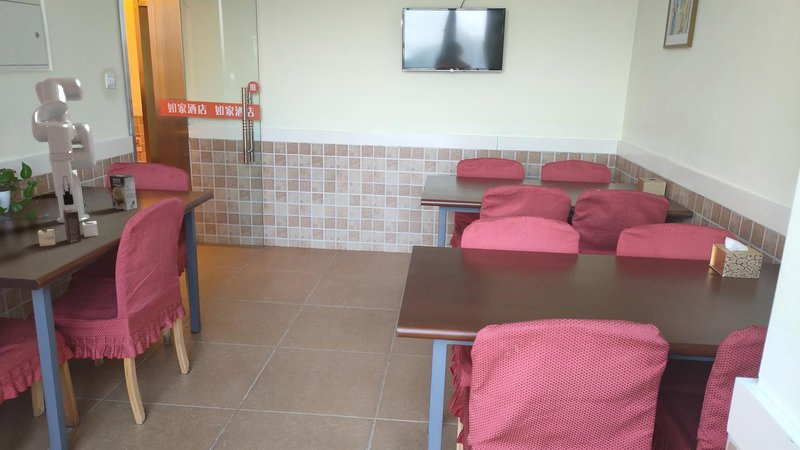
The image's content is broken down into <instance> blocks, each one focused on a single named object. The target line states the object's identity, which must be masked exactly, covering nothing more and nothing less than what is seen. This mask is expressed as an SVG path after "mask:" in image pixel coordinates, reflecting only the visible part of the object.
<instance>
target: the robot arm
mask: <svg viewBox="0 0 800 450" xmlns="http://www.w3.org/2000/svg"><path fill="white" fill-rule="evenodd" d="M34 87H35V94H36V96H37V99H38V100H39V103H40V105H39V107H37V108H36V110H35V111H34V112H33V113H32V115H31V133H32V135H33V138H34V140H36V141H37V142H38V143H48V149H49V154H48V159H49V164H50V166H51V168H52V169H51V171H52V170H53V174H54V178H55V184H56V190H57V196H56V197H57V203H58V208H59V217H57V218H56V221H57V223H61V224H65V221H64V213H63V210H69V209H75V210H77V211H78V216H79V223H80V222H85V221H88V219H90V215H89V214H88V213H86V211H85V206H84V198H83V191H82V183H81V179H80V177H79V176H78V174H77V175H76V174H74V173H73V172H72V170H77V171H78V170H91V169H93V168H95V166H96V165H97V159H96V157H97V156H96V152H95V146H94V140H93V139H94V138H93V134H92V133H93V132H92V129H91V127H90V126H89V125H90V124H87V122H71V121H72V120H71V116H70V111H69V102H70V101H71V102H72V101H73V102H74V101H75V102H76V101H82V99H83V98H84V86H83V84H82V82H81V80H80V79H78V78H77V77H48V78H46V79H44V80H42V81H38V82H37V83H35V85H34ZM73 146H79V147H73ZM80 146H81V147H80Z"/></svg>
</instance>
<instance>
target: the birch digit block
mask: <svg viewBox="0 0 800 450" xmlns="http://www.w3.org/2000/svg"><path fill="white" fill-rule="evenodd" d="M37 237H38V242H39V247H46V246H54V245H56V235H55V230H54V228H53V229H52V228H51V229H41V230H38V233H37Z"/></svg>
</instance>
